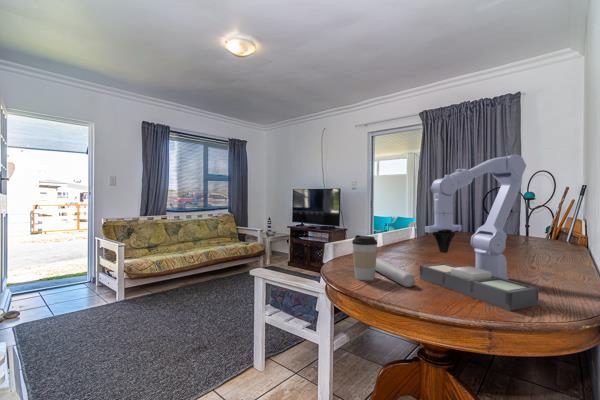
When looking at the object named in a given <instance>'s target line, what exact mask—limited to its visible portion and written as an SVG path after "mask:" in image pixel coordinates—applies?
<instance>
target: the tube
mask: <svg viewBox="0 0 600 400" xmlns="http://www.w3.org/2000/svg"><path fill="white" fill-rule="evenodd" d="M375 272H378V273H380V274H381V275H383V276H385V277H387V278H389V279H390V280H392V281H394V282H396V283H397V284H399V285H402V286H403V287H404V288H411V287H413V286H414V285H415V283H416V281H415V280H416V279H415V275H413V274H412V273H411V272H409V271H407V270H405V269H403V268H401V267H398V266H396V265H394V264H392V263H390V262H387V261H385V260H383V259H381V258H380V257H379V256H377V257H376V267H375Z"/></svg>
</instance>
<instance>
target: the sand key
mask: <svg viewBox="0 0 600 400" xmlns="http://www.w3.org/2000/svg"><path fill="white" fill-rule="evenodd" d="M429 268H433V269H436V270H439V271H443V272H451V268H454V267H450V266H446V265H439V266H430V267H429Z"/></svg>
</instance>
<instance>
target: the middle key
mask: <svg viewBox="0 0 600 400" xmlns="http://www.w3.org/2000/svg"><path fill="white" fill-rule="evenodd" d="M457 267H458V268H451V274H453V275H456V276H459V277H463V278H466V279H469V280H473V281H474V280H481V279H488V278H491V272H490V271H486V270H482V269H478V268H476V267H474V266H468V265H467V266H457Z"/></svg>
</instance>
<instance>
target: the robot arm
mask: <svg viewBox="0 0 600 400" xmlns="http://www.w3.org/2000/svg"><path fill="white" fill-rule="evenodd" d="M526 167H527V164H526V162H525V160H524V158H523V156H521V155H520V154H511V155H505V156H501V157H500V156H499V157H493V158H490V159H486V160H485V161H484V162H482V163H479V164H477V165H475V166H473V167H472V168H469V169H466V168H458V169H455V172H453V173H450V174H445V175H444V177H443V178H437V179H435V180H434V181H433V182H432V184H431V186H430V188H429V189H430V191H431V193H432V194H433V201H434V202H433V204H434V205H433V208H434V209H433V210H434V211H433V213H434V216H433V217H434V218H433V219H434V221H433V222H434V224H432V225H427V226H424V232H425V233H429V234H430V233H432V235H433V237H434V238H435V240H436V243H437V246H438V249H439V252H440V253H443V254H447V253H448V251H449V248H450V245H451V242H452V240H453V238H454V237H455V236H456V232H455V231H459V232H460V231H462V229H463V228H462V227H463V226H462V224H454V221H453V220H454V219H453V218H454V213H453V212H454V211H453V209H454V207H453V206H454V204H453V203H454V202H453V200H454V199H453V197H454V196H453V195H454V194H455V193H456V192H457V191H458V190H459V189H461V188H464V187H466V186H468V185H470V184H472V182H473V181H474V179H475V178H478V177H481V176H482V175H485V174H487V173H490V174H491V175H492V176H493V177H494V179H495V180H496V181H497V182H498V183H500V188H499V190H498V193H497V194H496V197H495V200H494V201H493V204H492V206H491V209H490V211H489V214H488V215H487V219H486V220H485V223H484V224H483V225H480V227H477V229H476V231H475V233H474V234H472V235H471V237H470V245H471V247H472V248H473V249H474V252H475V268H478V269H482V270H486V271H490V272H491V276H495V277H499V278H503V279H506V280H510V277H508V275H507V273H508V272H507V271H508V270H507V266H508V265H507V257H506V256H505V255H504V254H503V252H504V251H505V249H506V247H507V245H506V242H507V241H506V240H507V237H508V235H507V234H506V232H505V231H504V230H503V229H504V227H505V225H506V222H507V220H508V217H509V215H510V214H511V211H512V208H513V205H514V204H515V201H516V199H517V197H518V194H519V192H520V190H521V186H522V183H523V175H524V173H525V170H526Z"/></svg>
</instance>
